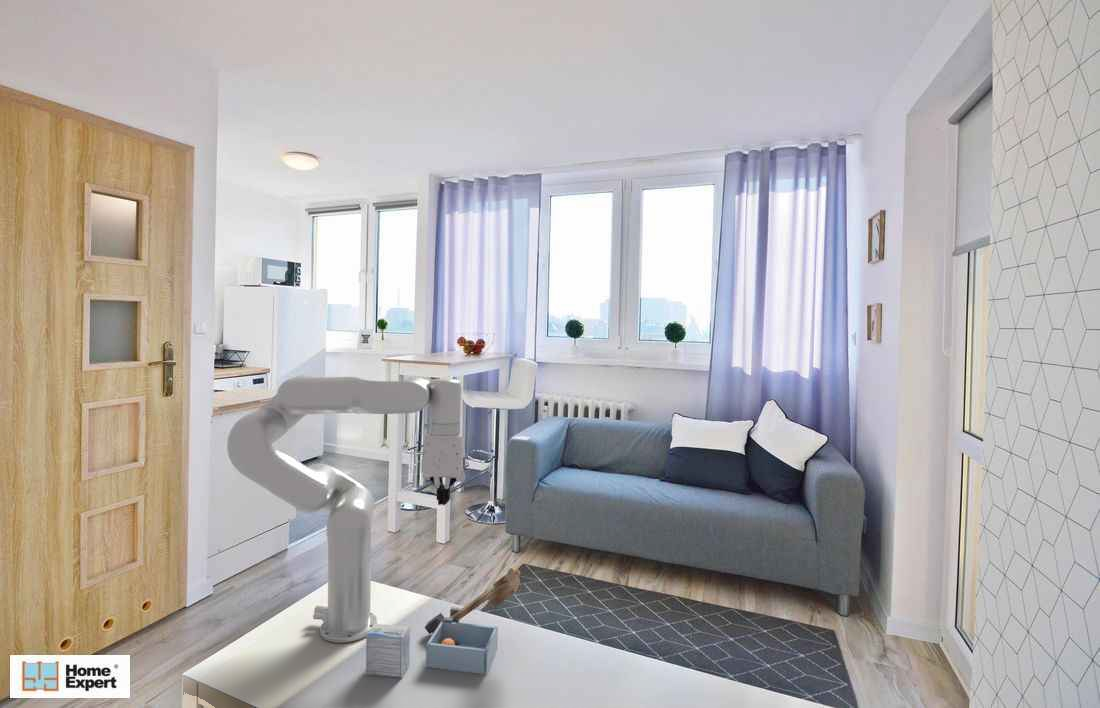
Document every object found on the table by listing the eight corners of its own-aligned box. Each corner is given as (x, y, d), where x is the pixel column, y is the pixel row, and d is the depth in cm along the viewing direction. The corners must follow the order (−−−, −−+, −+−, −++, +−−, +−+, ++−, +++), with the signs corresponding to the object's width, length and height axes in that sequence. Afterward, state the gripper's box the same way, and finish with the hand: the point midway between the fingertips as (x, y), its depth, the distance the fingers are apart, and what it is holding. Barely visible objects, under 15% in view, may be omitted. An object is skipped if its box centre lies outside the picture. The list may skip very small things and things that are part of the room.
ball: (455, 650, 113) (446, 661, 113) (460, 641, 116) (451, 652, 117) (444, 640, 113) (435, 651, 114) (449, 632, 117) (440, 642, 117)
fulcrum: (433, 644, 119) (434, 620, 119) (444, 627, 126) (444, 604, 126) (459, 647, 118) (459, 623, 118) (468, 630, 125) (468, 607, 125)
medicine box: (410, 665, 112) (410, 625, 111) (402, 679, 107) (402, 637, 107) (374, 662, 112) (375, 622, 112) (365, 675, 108) (365, 634, 108)
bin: (426, 667, 111) (426, 644, 111) (441, 642, 120) (441, 621, 120) (486, 674, 109) (487, 650, 109) (497, 648, 118) (497, 626, 118)
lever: (417, 662, 113) (408, 649, 113) (436, 633, 124) (427, 621, 124) (515, 593, 109) (505, 580, 109) (525, 569, 120) (516, 557, 121)
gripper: (409, 430, 126) (408, 506, 126) (469, 433, 124) (468, 510, 124) (421, 425, 133) (420, 496, 134) (478, 428, 131) (477, 500, 132)
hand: (443, 503), depth 129 cm, fingers closed
